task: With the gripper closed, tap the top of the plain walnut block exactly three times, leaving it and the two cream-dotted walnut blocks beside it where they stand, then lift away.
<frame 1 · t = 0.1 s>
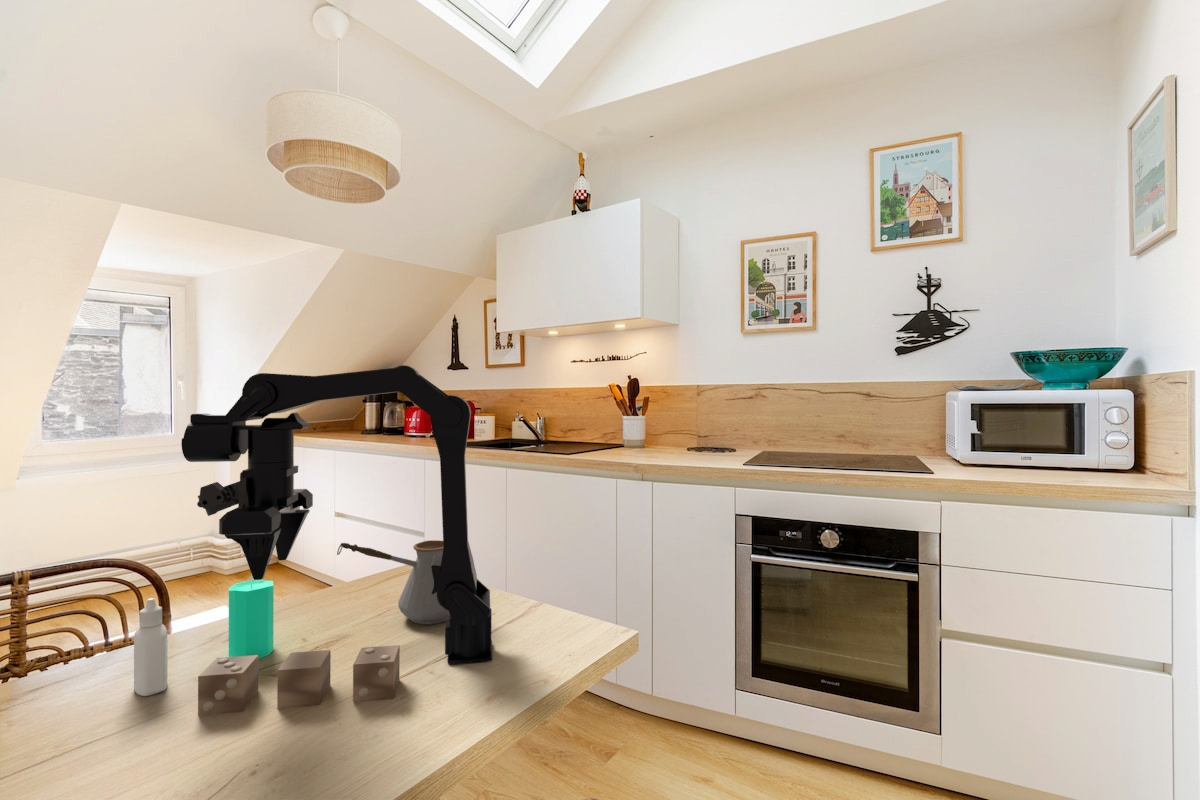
hand: (271, 569, 83), 15 cm above the table, tool pointing down, fingers open, 9 cm apart
plain block: (304, 697, 76), on the table
coffee pot: (403, 622, 101), on the table
two dot block: (377, 691, 77), on the table
candle: (251, 654, 88), on the table
eye dropper bottle: (150, 689, 77), on the table
three dot block: (229, 703, 74), on the table
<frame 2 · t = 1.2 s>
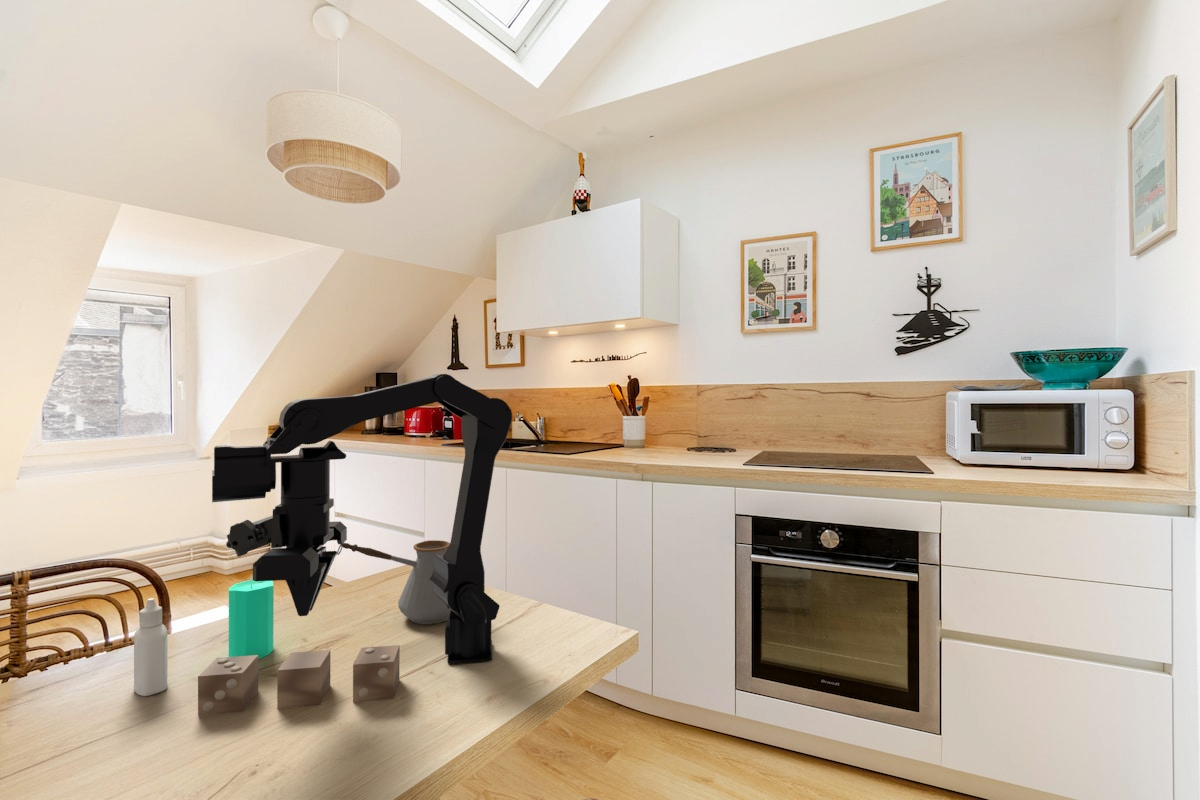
hand: (305, 613, 75), 11 cm above the table, tool pointing down, fingers closed
nothing on the table moved.
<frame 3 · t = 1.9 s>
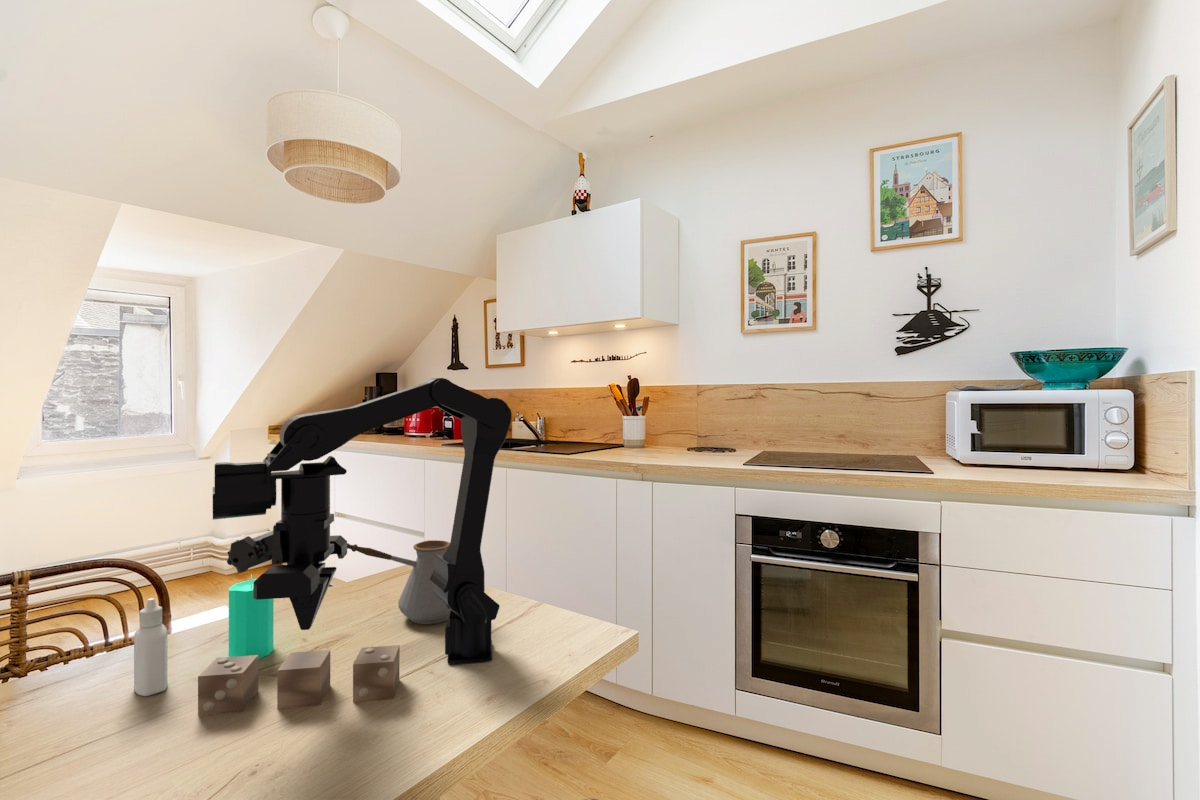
hand: (306, 628, 75), 9 cm above the table, tool pointing down, fingers closed
nothing on the table moved.
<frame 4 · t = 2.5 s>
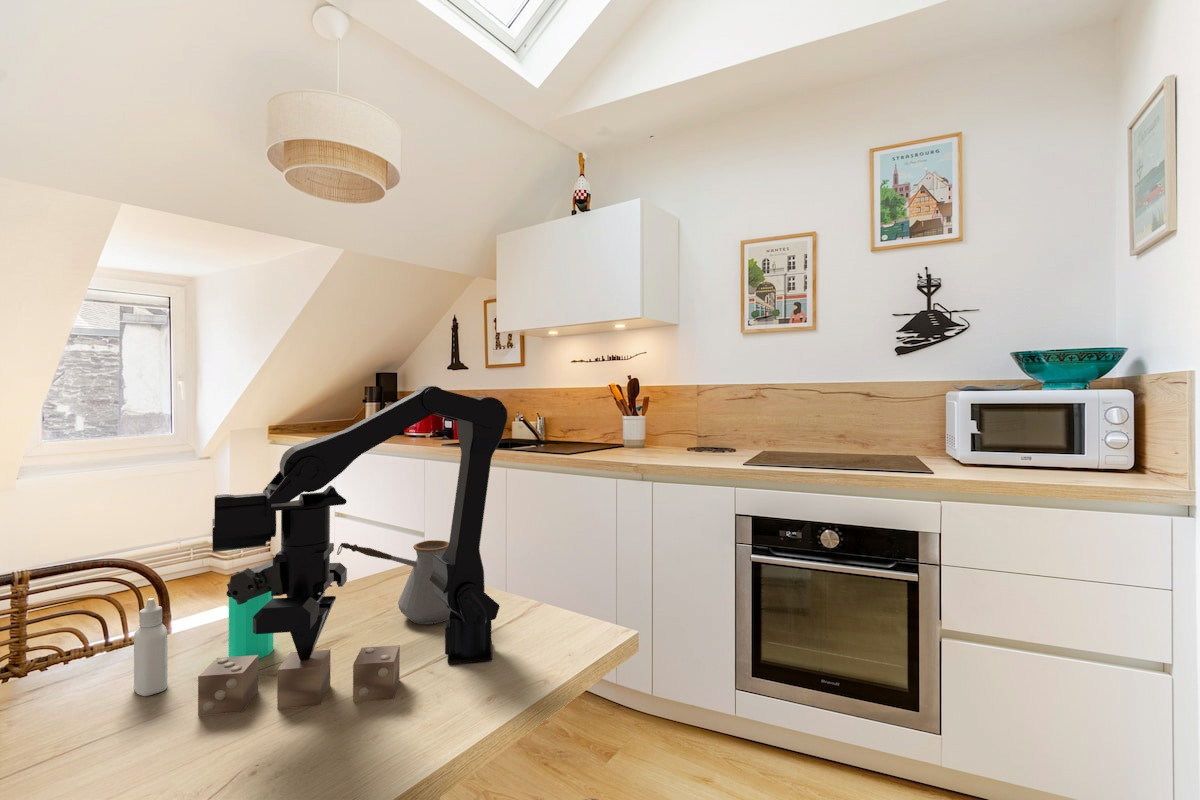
hand: (305, 659, 75), 5 cm above the table, tool pointing down, fingers closed, pressing on plain block
plain block: (304, 697, 76), on the table, touching gripper
everything else where it was.
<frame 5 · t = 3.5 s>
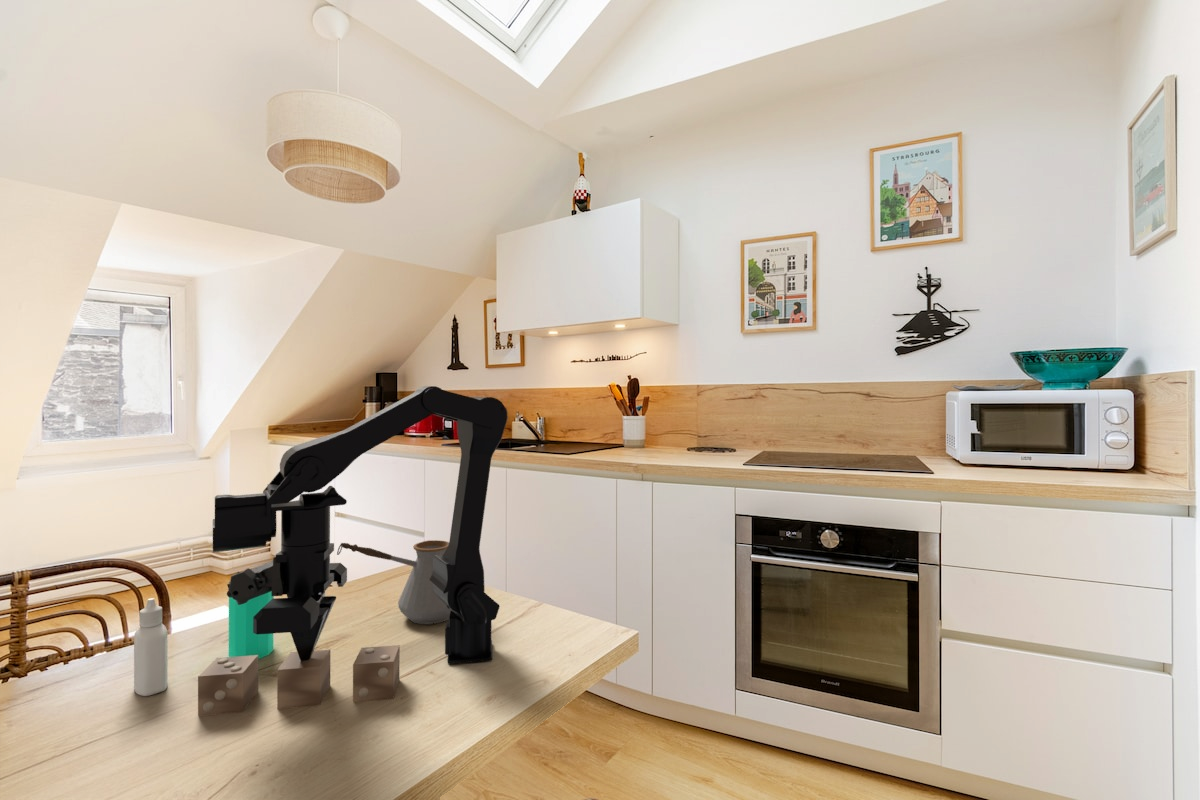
hand: (305, 659, 76), 5 cm above the table, tool pointing down, fingers closed, pressing on plain block
plain block: (304, 697, 76), on the table, touching gripper
everything else where it was.
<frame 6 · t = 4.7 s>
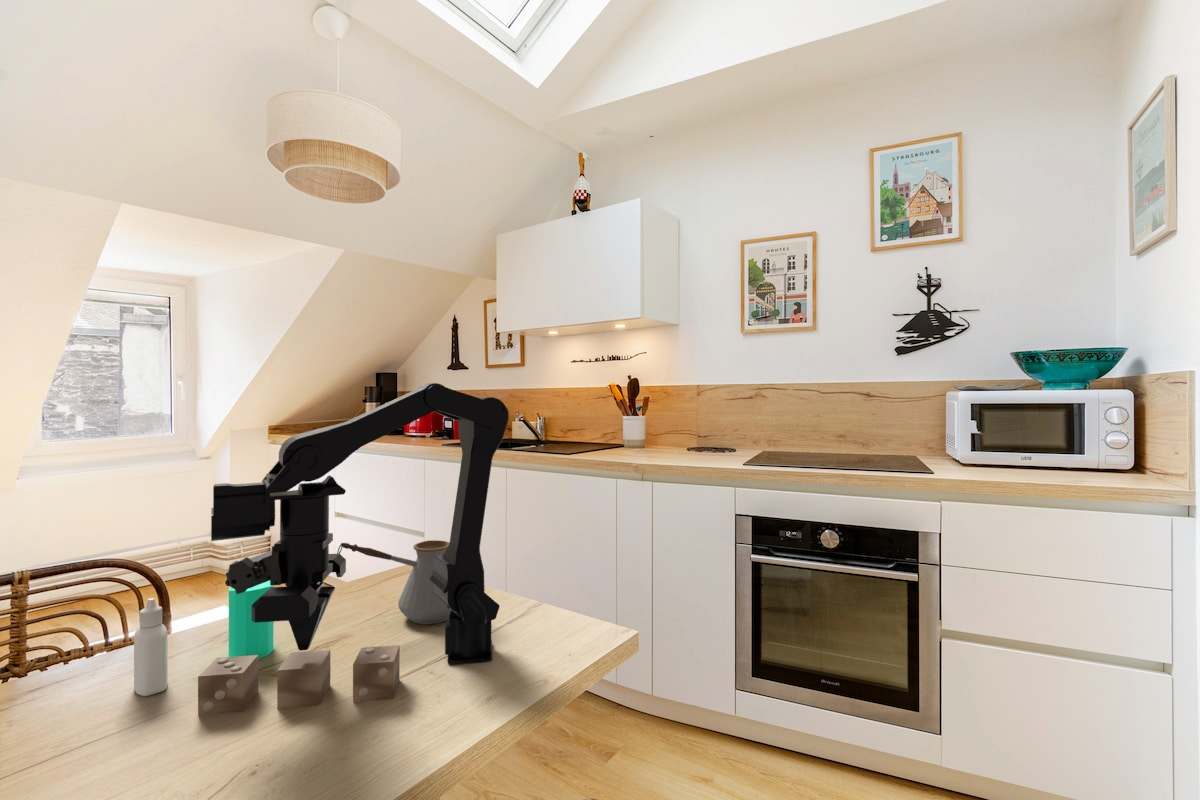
hand: (304, 649, 75), 6 cm above the table, tool pointing down, fingers closed
plain block: (304, 697, 76), on the table
everything else where it was.
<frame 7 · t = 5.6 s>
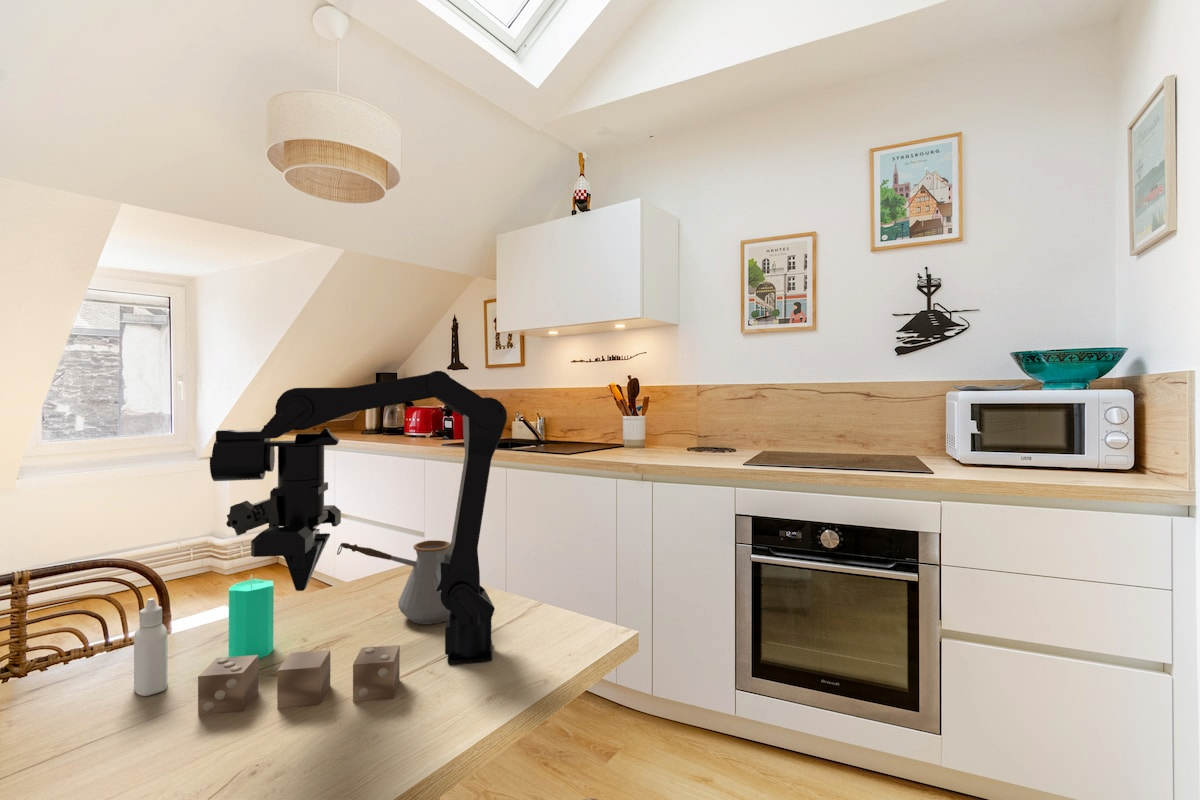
hand: (300, 590, 80), 13 cm above the table, tool pointing down, fingers closed
nothing on the table moved.
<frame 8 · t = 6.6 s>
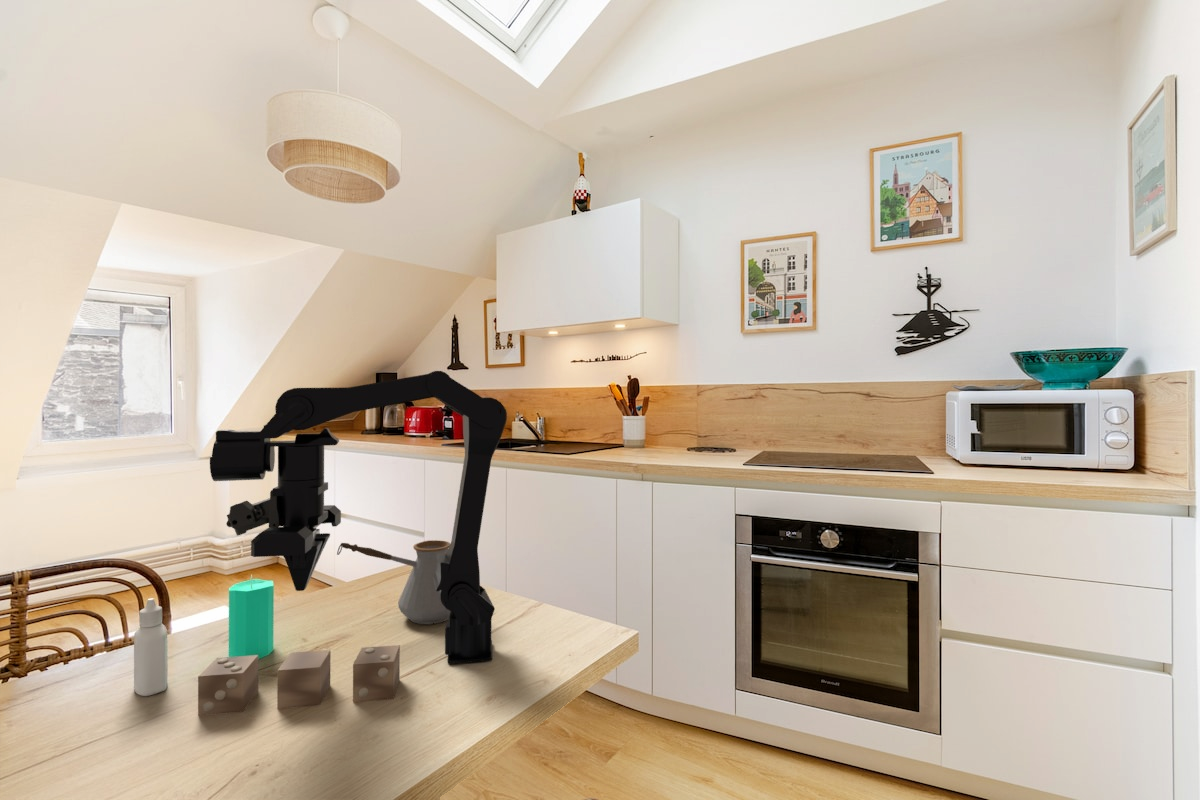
hand: (300, 590, 80), 12 cm above the table, tool pointing down, fingers closed
nothing on the table moved.
at the end: plain block moved 0.1 cm from its start; two dot block moved 0.1 cm from its start; three dot block moved 0.1 cm from its start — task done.
